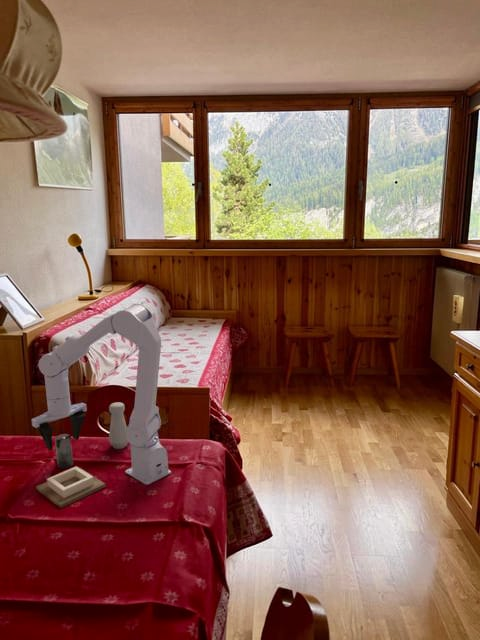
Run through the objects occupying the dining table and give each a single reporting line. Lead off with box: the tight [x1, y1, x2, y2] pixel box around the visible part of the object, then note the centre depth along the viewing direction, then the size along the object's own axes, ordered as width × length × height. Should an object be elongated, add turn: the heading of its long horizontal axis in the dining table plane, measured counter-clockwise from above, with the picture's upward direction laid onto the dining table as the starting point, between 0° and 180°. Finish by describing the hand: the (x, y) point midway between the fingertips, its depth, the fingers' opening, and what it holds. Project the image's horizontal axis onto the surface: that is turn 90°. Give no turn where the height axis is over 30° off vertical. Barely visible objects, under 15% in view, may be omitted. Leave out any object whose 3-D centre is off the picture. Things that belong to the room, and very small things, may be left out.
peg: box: [54, 433, 74, 469], centre depth 135 cm, size 4×4×8 cm
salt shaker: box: [108, 401, 129, 450], centre depth 145 cm, size 6×6×13 cm
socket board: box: [36, 465, 106, 509], centre depth 124 cm, size 12×12×3 cm
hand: (63, 443), depth 135 cm, fingers open, 7 cm apart
